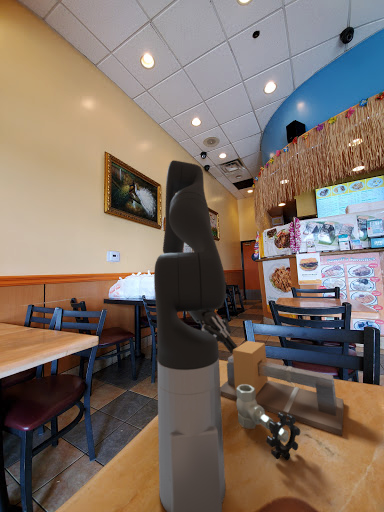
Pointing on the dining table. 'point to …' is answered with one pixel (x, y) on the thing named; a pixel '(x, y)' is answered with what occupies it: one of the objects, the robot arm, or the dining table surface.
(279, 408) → the board
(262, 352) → the collar
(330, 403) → the rectangular bar
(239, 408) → the valve
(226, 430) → the dining table surface
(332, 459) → the dining table surface
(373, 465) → the dining table surface
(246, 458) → the dining table surface
